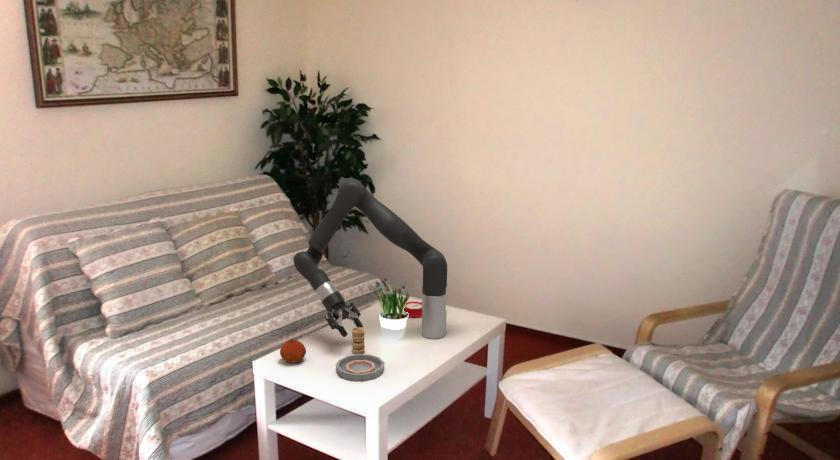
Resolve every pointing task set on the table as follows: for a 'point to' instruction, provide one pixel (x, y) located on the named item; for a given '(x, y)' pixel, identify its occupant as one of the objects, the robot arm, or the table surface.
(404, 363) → the table surface
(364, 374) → the round tray
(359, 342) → the bead stack
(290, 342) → the fruit
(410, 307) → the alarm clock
